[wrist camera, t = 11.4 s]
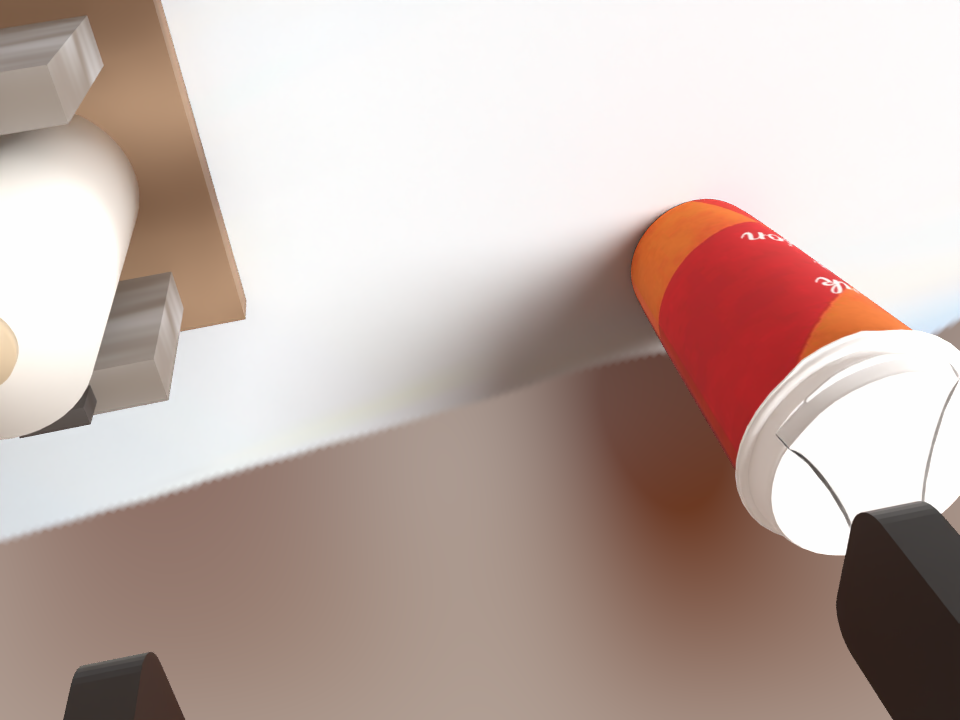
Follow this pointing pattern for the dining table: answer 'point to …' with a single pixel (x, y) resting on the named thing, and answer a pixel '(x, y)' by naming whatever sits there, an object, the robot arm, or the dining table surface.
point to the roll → (58, 264)
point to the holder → (159, 172)
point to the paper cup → (799, 375)
